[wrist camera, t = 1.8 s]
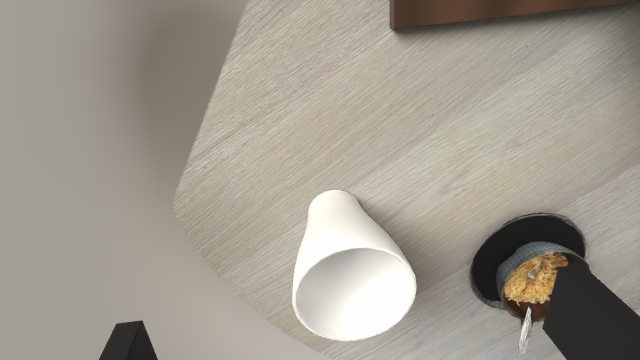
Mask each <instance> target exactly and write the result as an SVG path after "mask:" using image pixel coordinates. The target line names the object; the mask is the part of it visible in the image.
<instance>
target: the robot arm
mask: <svg viewBox="0 0 640 360" xmlns="http://www.w3.org/2000/svg"><path fill="white" fill-rule="evenodd" d="M543 330H544V331H545V332H546V334H547V335H548V336H549V338H550V339H551V340H552V341H553V343H554V344H555V345H556V346H557V348H558V349H559V350H560V352H561V353H562V354H563V355H564V357H565V358H566V359H567V360H640V316H638V315H637V314H636V313H635V312H634V311H633V310H632V309H631V308H630V307H628V306H627V305H626V304H625V303H624V302H623V301H622V300H621V299H620V298H618V297H617V296H616V295H615V294H614V293H613V292H612V291H611V290H610V289H608V288H607V287H606V286H605V285H604V284H603V283H602V282H601V281H600V280H598V279H597V278H596V277H595V276H594V275H593V274H592V273H591V272H590V271H588V270H587V269H586V268H585V267H584V266H583V265H582V264H578V265H571V266H563V267H558V271H557V275H556V279H555V282H554V286H553V290H552V294H551V298H550V302H549V306H548V309H547V313H546V317H545V321H544V325H543ZM99 360H158V359H157V357H156V354H155V352H154V349H153V347H152V344H151V341H150V339H149V336H148V334H147V331H146V329H145V326H144V324H143V321H135V322H126V323H119V324H116V326H115V328H114V330H113V332H112V334H111V336H110V338H109V340H108V342H107V344H106V346H105V348H104V350H103V352H102V354H101V356H100V358H99Z"/></svg>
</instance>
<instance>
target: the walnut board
mask: <svg viewBox="0 0 640 360" xmlns="http://www.w3.org/2000/svg"><path fill="white" fill-rule="evenodd" d="M631 2H640V0H390V28H393V29H401V28H410V27H419V26H428V25H436V24H445V23H454V22H463V21H472V20H481V19H489V18H498V17H507V16H516V15H525V14H534V13H542V12H551V11H560V10H569V9H578V8H587V7H595V6H604V5H613V4H622V3H631Z"/></svg>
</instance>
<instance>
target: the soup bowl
mask: <svg viewBox="0 0 640 360" xmlns="http://www.w3.org/2000/svg"><path fill="white" fill-rule="evenodd" d="M587 249H588V248H587V244H586V239H585V238H584V235H583V233H582V231H581V230H580V229H579V228H578V227H577V226H576V225H575V224H574V223H573V222H571V221H570V220H569V219H568V218H566V217H565V216H562V215H557V214H550V213H548V214H543V213H537V214H535V213H533V214H528V215H524V216H521V217H518V218H515V219H513V220H511V221H508V222H507V223H506V224H504V225H503V226H502V227H501V228H500V229H498V230H497V231H496V232H494V233H493V234H492V235H491V236H490V237H489V238H488V239H487V240H486V241H485V243H484V244H483V245H482V246H481V248H480V249H479V250H478V252H477V254H476V256H475V257H474V260H473V263H472V266H471V270H470V277H469V278H470V284H471V287H472V289H473V292H474V293H475V295H476V296H477V297H478V298H479V299H480V300H481V301H482V302H484V303H486V304H487V305H489V306H492V307H495V308H499V309H502V310H507V311H508V312H509V313H510V314H511V315H512V316H514V317H517V318H518V319H520V320H521V326H522V330H521V337H520V343H519V354H520V356H523V355H525V352H526V350H527V345H528V341H529V337H530V333H531V328H532V325H533V323H534V322H539V321H545V317H546V313H547V309H548V306H549V302H550V298H551V294H552V290H553V286H554V282H555V279H556V275H557V271H558V267H563V266H571V265H578V264H582V265H583V266H584V267H585V268H586V269H587V270H588V271H590V268H589V265H588V264H587V263H586V257H587V252H588V251H587ZM590 272H591V271H590ZM520 356H519V357H520Z"/></svg>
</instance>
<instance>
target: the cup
mask: <svg viewBox="0 0 640 360" xmlns="http://www.w3.org/2000/svg"><path fill="white" fill-rule="evenodd" d="M416 289H417V284H416V278H415V274H414V272H413V270H412V268H411V266H410V264H409V263H408V261H407V259H406V258H405V256H404V255H403V253H402V251H401V250H400V248H399V247H398V245H397V244H396V243H395V242H394V241H393V240H392V239H391V237H390V236H389V235H388V234H387V233H386V232H385V231H384V229H382V228H381V227H380V226H379V225H378V224H377V223H376V222H375V221H374V220H373V219H371V218H370V217H369V216H368V215H367V214H366V212H365V211H364V210H363V209H362V208H361V206H360V204H359V203H358V201H357V199H356V198H355V197H354V196H353V195H352V194H350V193H348V192H346V191H342V190H330V191H326V192H324V193H322V194H320V195H318V196H317V197H316V198H315V199H314V200H313V202H312V203H311V204H310V207H309V210H308V224H307V228H306V231H305V235H304V237H303V240H302V243H301V246H300V249H299V252H298V256H297V261H296V265H295V269H294V277H293V308H294V310H295V313H296V316H297V318H298V319H299V320H300V321H301V322H302V324H303V325H304V326H305V327H306V328H308V329H309V330H310V331H312V332H313V333H315V334H316V335H319V336H322V337H325V338H327V339H331V340H339V341H356V340H362V339H366V338H370V337H374V336H376V335H378V334H380V333H383V332H385V331H387V330H388V329H390V328H391V327H393V326H394V325H395V324H397V323H398V322H399V321H400V320H401V319H402V318H403V317H404V316H405V315H406V314H407V312H408V311H409V309H410V307H411V305H412V303H413V302H414V299H415V294H416Z"/></svg>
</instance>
